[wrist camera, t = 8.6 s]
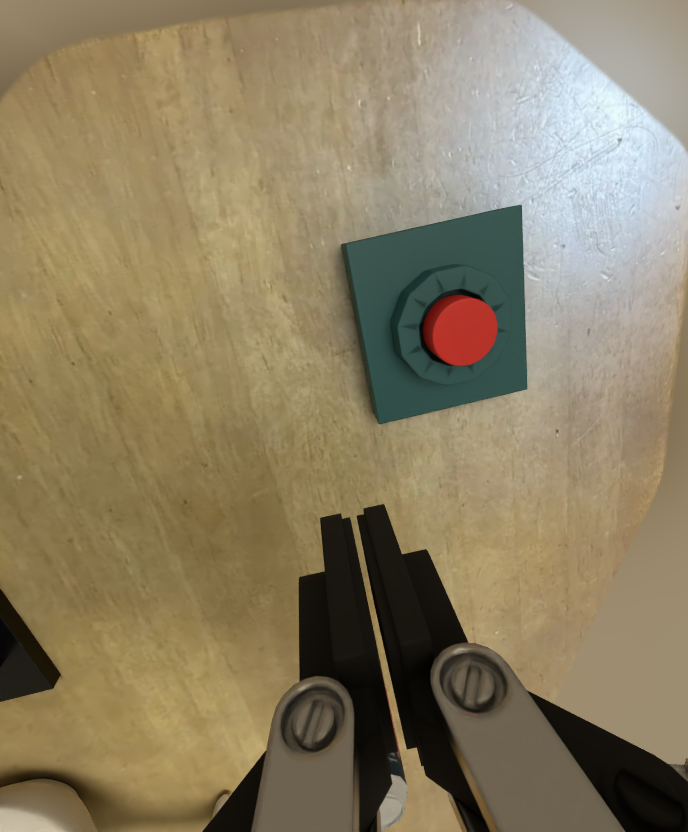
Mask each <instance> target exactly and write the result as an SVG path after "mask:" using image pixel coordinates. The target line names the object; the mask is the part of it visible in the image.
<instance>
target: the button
mask: <svg viewBox="0 0 688 832" xmlns="http://www.w3.org/2000/svg"><path fill="white" fill-rule="evenodd" d="M423 336H424V340H425V343H426V345H427V347H428V348H429V350H430V351H431V352H432V353H434V354H435V355H436V356H438V357H439V358H440V359H442V360H443V361H444V362H446V363H448V364H451V365H454V366H466V365H470V364H473V363H475V362H477V361H479V360H480V359H482V358H483V357H484V356H485V355H486V354H487V353H488V352H489V351H490V349H491V348H492V346H493V344H494V342H495V340H496V336H497V320H496V316H495V314H494V312H493V310H492V309H491V308H490V306H488V305H487V304H486V303H485V302H483V301H481V300H479V299H475V298H471V297H468V296H464V295H451V296H448V297H445V298H443V299H441V300H440V301H438V302H437V303H436V304H435V305H434V306H433V307H432V308H431V309H430V310H429V312H428V314H427V316H426V318H425V321H424V325H423Z"/></svg>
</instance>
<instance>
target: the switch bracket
mask: <svg viewBox="0 0 688 832" xmlns="http://www.w3.org/2000/svg"><path fill="white" fill-rule="evenodd" d="M59 677H60V673H59V672H58V670H57V669H56V667H55V666H54V665H53V663H52V662H51V660H50V659H49V658H48V656H47V655H46V653H45V652H44V651H43V649H42V648H41V646H40V645H39V643H38V642H37V641H36V639H35V638H34V636H33V635H32V634H31V632H30V631H29V629H28V628H27V626H26V625H25V624H24V622H23V621H22V619H21V618H20V617H19V615H18V614H17V612H16V611H15V610H14V608H13V607H12V605H11V604H10V602H9V601H8V600H7V598H6V597H5V595H4V594H3V593H2V591H1V590H0V702H2V701H6V700H10V699H14V698H18V697H21V696H25V695H29V694H33V693H37V692H41V691H45V690H49V689H53V688H54V686H55V684H56V682H57V681H58V679H59Z"/></svg>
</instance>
